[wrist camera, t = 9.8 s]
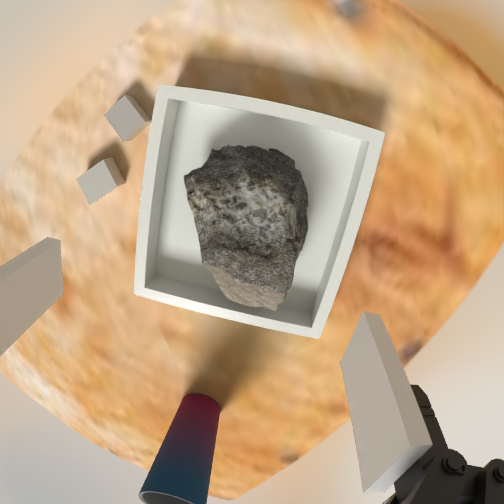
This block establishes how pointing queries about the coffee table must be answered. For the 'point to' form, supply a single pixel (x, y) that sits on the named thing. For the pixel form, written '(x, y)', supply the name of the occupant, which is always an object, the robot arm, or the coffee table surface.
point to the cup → (185, 455)
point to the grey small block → (100, 180)
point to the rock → (249, 221)
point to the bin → (268, 136)
